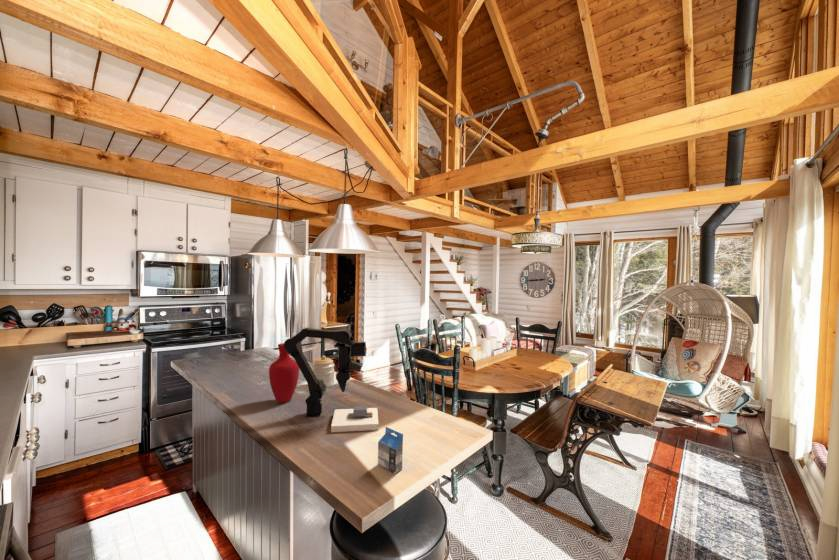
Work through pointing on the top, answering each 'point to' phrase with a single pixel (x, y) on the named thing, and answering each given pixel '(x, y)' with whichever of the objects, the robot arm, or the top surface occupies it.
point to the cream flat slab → (354, 421)
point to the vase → (283, 376)
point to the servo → (360, 413)
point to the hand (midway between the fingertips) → (343, 388)
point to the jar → (324, 370)
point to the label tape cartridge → (391, 451)
